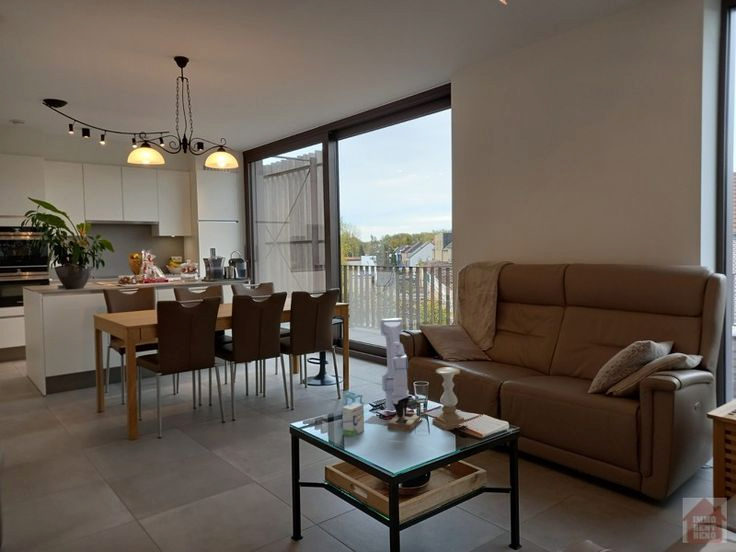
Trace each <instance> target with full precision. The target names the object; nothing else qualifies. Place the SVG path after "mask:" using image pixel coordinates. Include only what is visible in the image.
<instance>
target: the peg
mask: <svg viewBox="0 0 736 552" xmlns="http://www.w3.org/2000/svg"><path fill="white" fill-rule="evenodd" d="M398 422H399V423H405V415H404V410H403V417H398Z"/></svg>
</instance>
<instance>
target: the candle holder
mask: <svg viewBox="0 0 736 552" xmlns="http://www.w3.org/2000/svg"><path fill="white" fill-rule="evenodd" d="M460 372H461V370H460V369H459V368H458V367H452V366H446V367H445V366H444V367H439V368H436V370H435V373H437V374H438V375H441V376H442V378H443V382H442V384H441V385H442V387H443V390H444V392H443V393H442V395H441V397H440V400H439V401H440V404H441V405H442V407H441V411H442V413H440V414H438V415H437V414H436V415H435V416H434V418H432V424H433V425H435V426H436V427H438V428H440V429H442V430H444V431H452V430H455V429H454V428H455V427H456V426H457V425H458V424H460V423H463V422H467V421H466V420H465V417H463V416H461V415H460V414H458V413H457V407H456V405H457V403H458V397H457V396H456V395H455V394H456V393H454V391H453V389H454V386H455V383H454V382H453V378H454V377H455V375H458V374H460Z"/></svg>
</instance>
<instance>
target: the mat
mask: <svg viewBox="0 0 736 552" xmlns="http://www.w3.org/2000/svg"><path fill="white" fill-rule="evenodd" d="M389 421H390V420H383V419H380V418H379V415H372V416H370V417H368V419H366V420H364V424H371V425H381V426H386V425H387V423H388V422H389Z"/></svg>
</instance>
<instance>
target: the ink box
mask: <svg viewBox="0 0 736 552" xmlns="http://www.w3.org/2000/svg"><path fill="white" fill-rule="evenodd" d="M364 412H365V411H364V405H363V404H360V403H352V404H349V405H347V406H345V405H344V406H342V417H343V418H342V433H343V436H345V437H346V436H347V437H351V438H353V437H355V436H357V435H358V434H359V433H362V432H363V431H365V423H364V422H365V416H364V414H365V413H364Z"/></svg>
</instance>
